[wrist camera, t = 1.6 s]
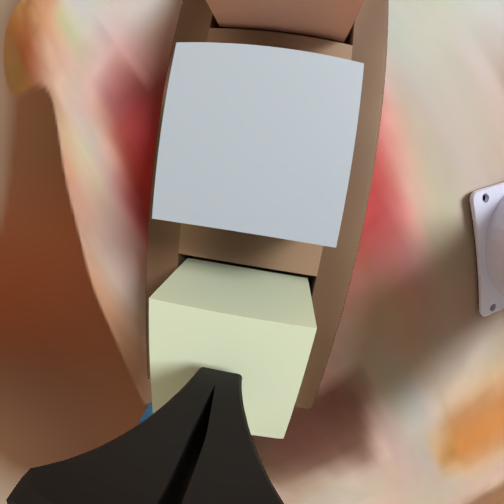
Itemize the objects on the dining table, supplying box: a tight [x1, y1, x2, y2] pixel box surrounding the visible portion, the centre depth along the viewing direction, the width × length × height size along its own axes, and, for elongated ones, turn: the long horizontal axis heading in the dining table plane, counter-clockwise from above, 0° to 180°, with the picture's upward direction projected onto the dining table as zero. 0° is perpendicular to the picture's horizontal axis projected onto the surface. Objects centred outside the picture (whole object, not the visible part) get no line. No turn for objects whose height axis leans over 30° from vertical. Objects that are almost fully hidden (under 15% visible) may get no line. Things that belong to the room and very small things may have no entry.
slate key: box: [152, 42, 364, 248], centre depth 10 cm, size 5×5×4 cm
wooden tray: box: [146, 0, 388, 409], centre depth 13 cm, size 9×25×3 cm, turn 172°
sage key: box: [149, 258, 317, 439], centre depth 13 cm, size 5×5×4 cm
